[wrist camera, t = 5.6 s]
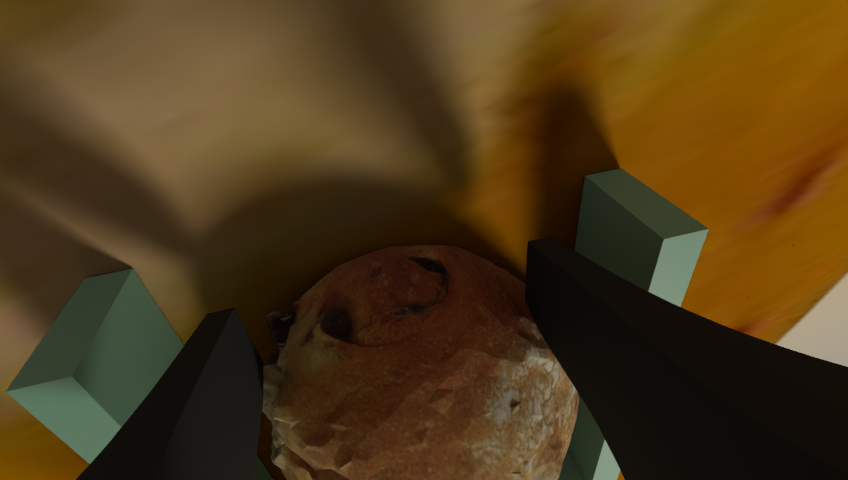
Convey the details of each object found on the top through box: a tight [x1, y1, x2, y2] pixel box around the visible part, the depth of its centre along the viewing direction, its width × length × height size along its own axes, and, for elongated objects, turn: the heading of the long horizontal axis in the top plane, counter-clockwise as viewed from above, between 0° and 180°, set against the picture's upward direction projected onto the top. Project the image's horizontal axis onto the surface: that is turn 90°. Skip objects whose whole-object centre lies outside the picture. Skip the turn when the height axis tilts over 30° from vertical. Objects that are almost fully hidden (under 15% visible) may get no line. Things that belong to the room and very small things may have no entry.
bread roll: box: [262, 245, 579, 480], centre depth 13 cm, size 10×10×8 cm
